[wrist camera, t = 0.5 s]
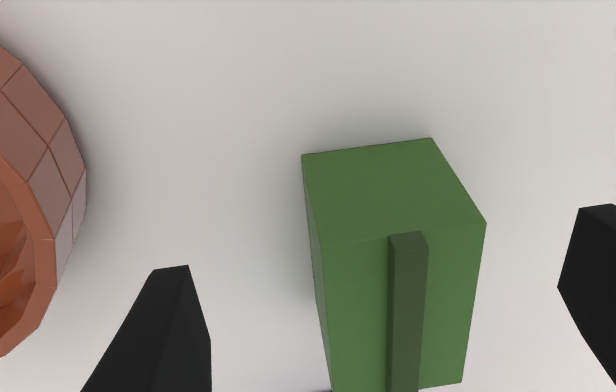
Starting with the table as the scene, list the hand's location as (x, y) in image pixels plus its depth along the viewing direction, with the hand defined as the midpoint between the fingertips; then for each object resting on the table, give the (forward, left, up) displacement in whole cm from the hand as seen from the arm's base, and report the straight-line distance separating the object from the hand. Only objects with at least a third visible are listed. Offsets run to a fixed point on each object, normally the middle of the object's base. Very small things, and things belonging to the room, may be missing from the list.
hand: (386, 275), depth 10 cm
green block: (-7, -2, -10) cm, 12 cm away
